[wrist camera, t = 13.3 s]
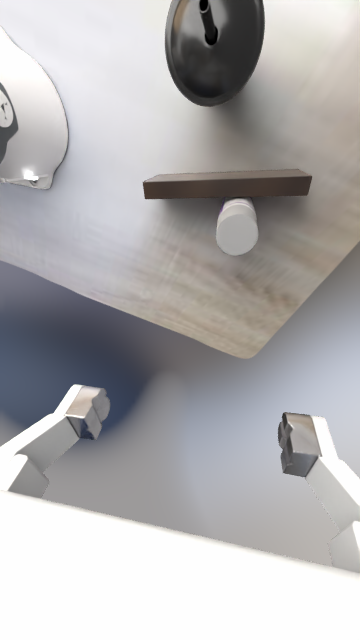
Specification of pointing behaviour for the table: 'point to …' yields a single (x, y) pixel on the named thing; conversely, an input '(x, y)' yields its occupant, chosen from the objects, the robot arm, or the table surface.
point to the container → (237, 226)
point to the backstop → (228, 184)
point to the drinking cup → (213, 47)
